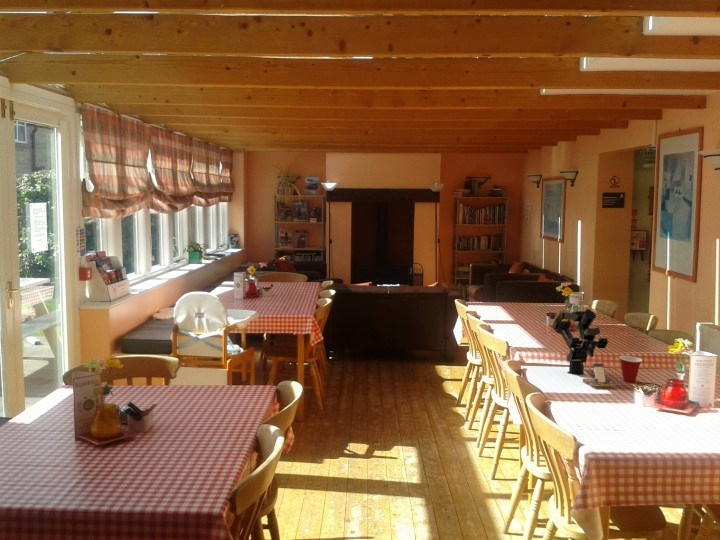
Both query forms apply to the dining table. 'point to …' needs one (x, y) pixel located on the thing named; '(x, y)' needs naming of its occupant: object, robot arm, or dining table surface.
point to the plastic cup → (630, 367)
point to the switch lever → (599, 373)
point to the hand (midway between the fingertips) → (592, 356)
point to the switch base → (597, 385)
